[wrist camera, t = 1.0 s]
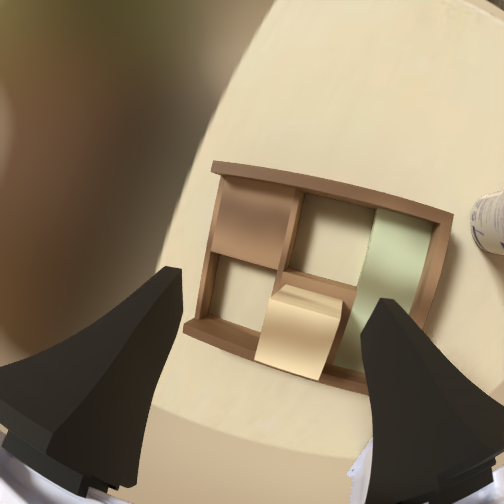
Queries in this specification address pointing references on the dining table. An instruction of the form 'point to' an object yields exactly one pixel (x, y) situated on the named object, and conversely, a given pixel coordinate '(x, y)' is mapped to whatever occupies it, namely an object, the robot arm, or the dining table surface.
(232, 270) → the dining table surface
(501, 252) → the energy drink
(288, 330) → the birch block
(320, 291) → the frame
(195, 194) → the dining table surface
